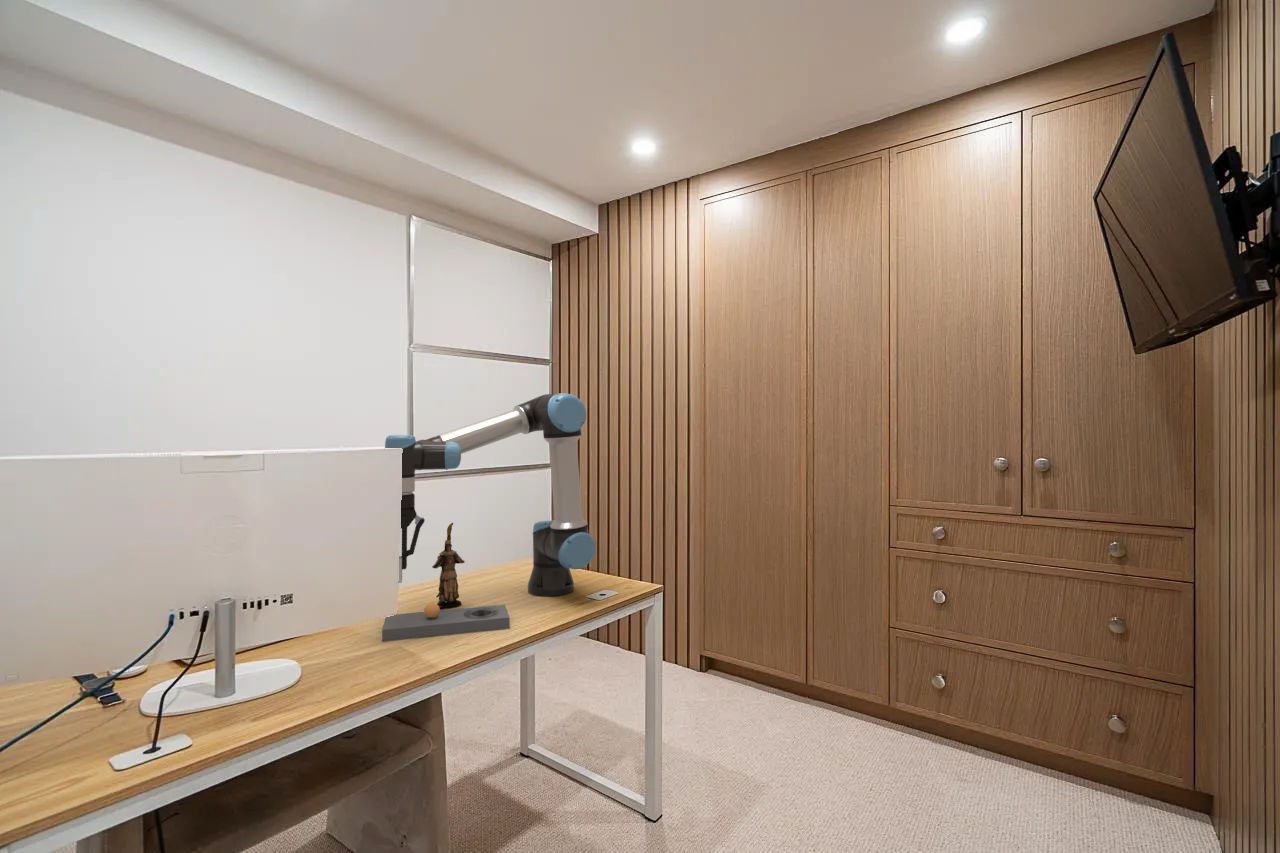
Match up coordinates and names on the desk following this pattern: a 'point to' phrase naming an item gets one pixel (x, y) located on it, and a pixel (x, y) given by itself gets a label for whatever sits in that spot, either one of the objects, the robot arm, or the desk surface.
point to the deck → (445, 622)
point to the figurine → (448, 575)
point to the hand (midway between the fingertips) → (398, 581)
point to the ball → (431, 610)
